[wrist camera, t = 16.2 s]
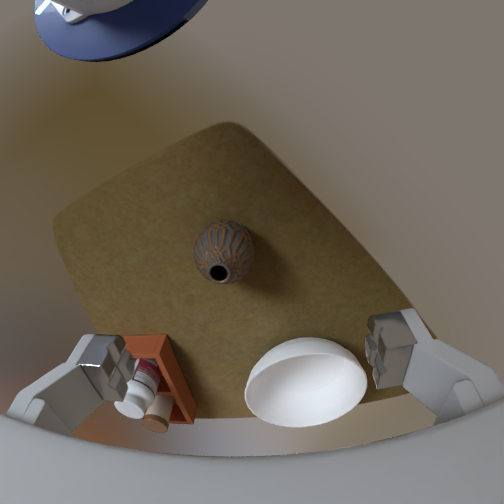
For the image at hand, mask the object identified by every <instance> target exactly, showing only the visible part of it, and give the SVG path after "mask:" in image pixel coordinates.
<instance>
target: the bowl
mask: <svg viewBox="0 0 504 504" xmlns="http://www.w3.org/2000/svg"><path fill="white" fill-rule="evenodd" d="M366 389H367V376H366V373H365V371H364V369H363V368H362V366H361V365H360V363H359V362H358V360H357V359H356V357H355V356H354V355H353V354H352V353H351V352H350V351H349V350H347V349H345V348H343V347H342V346H341V345H339V344H337V343H335V342H333V341H330V340H326V339H322V338H315V337H303V338H297V339H292V340H289V341H286V342H284V343H282V344H280V345H278V346H276V347H274V348H273V349H271V350H270V351H268V352H267V353H266V354H265V355H264V356H263V357H262V358H261V359H260V361H259V362H258V363H257V364H256V365H255V366H254V368H253V369H252V371H251V373H250V376H249V379H248V382H247V385H246V388H245V401H246V403H247V406H248V408H249V409H250V410H251V411H252V413H253V414H255V415H256V416H257V417H259V418H260V419H262V420H264V421H266V422H269V423H272V424H275V425H279V426H284V427H310V426H316V425H320V424H324V423H327V422H330V421H332V420H335V419H337V418H339V417H341V416H343V415H345V414H346V413H348V412H349V411H350V410H352V409H353V408H354V407H355V406H356V405H357V404H358V403H359V402H360V401H361V399H362V398H363V396H364V394H365V392H366Z"/></svg>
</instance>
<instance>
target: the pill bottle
mask: <svg viewBox="0 0 504 504" xmlns="http://www.w3.org/2000/svg"><path fill="white" fill-rule="evenodd" d="M134 362H135V373H134V375H133V378H132V379H131V380H130V381H128V382H127V385H128V391H127V393H126V396H125V398H124V401H123V402H117V401H115V406H116V408H117V410H118V411H119V412H121V413H122V414H124V415H126V416H128V417H131V418H137V419H138V418H142V417H143V416H144V414H145V411H146V408H148V407H150V406H151V405H152V404H153V401H154V398H155V395H156V392H157V389H158V386H159V382H160V379H161V376H162V372H161V370H160V368H159V365H158V363H157V361H156V359H143V358H134Z"/></svg>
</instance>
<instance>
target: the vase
mask: <svg viewBox="0 0 504 504" xmlns="http://www.w3.org/2000/svg"><path fill="white" fill-rule="evenodd" d="M254 256H255V247H254V242H253V239H252V237H251V235H250V233H249V232H248V231H247V230H246V229H245V228H244V227H243V226H242V225H240V224H238V223H236V222H233V221H228V220H223V221H217V222H214V223H212V224H210V225H209V226H207V227H206V228H205V229H204V230H203V231H202V232H201V234H200V235H199V237H198V239H197V241H196V244H195V249H194V257H195V262H196V265H197V268H198V270H199V271H200V273H201V274H202V275H203V276H204V277H205V278H207V279H208V280H210V281H212V282H214V283H217V284H230V283H234V282H236V281H238V280H240V279H241V278H242V277H244V276H245V275H246V273H247V272H248V271H249V269H250V268H251V266H252V264H253V261H254Z"/></svg>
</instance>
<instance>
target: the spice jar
mask: <svg viewBox="0 0 504 504" xmlns="http://www.w3.org/2000/svg"><path fill="white" fill-rule="evenodd" d="M174 401H175V398H174V396H165V395H155V398H154V401H153V404H152V405H151V406H150V407H148V408H147V410H146V413H145V416H144V417H143V420H142V425H143V426H144V427H145V428H146V429H148V430H150V431H152V432H155V433H165V432H167V430H168V426H169V420H170V416H171V412H172V409H173V405H174Z"/></svg>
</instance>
